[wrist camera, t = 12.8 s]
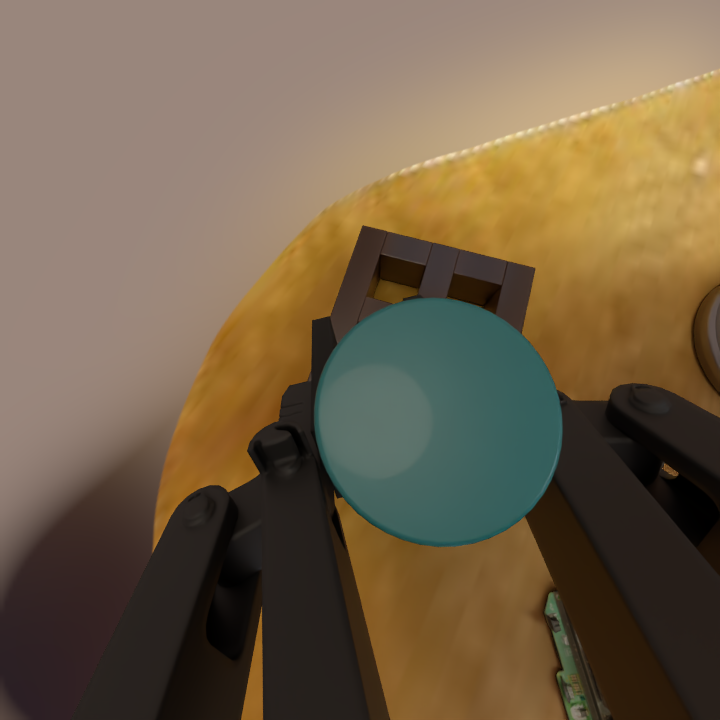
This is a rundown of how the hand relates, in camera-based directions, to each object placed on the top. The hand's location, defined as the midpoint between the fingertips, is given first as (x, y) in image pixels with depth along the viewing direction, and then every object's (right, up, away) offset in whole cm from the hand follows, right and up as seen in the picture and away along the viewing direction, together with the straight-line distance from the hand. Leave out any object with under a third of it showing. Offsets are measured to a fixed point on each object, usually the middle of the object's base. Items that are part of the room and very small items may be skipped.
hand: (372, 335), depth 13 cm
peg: (+1, -5, +3) cm, 6 cm away
